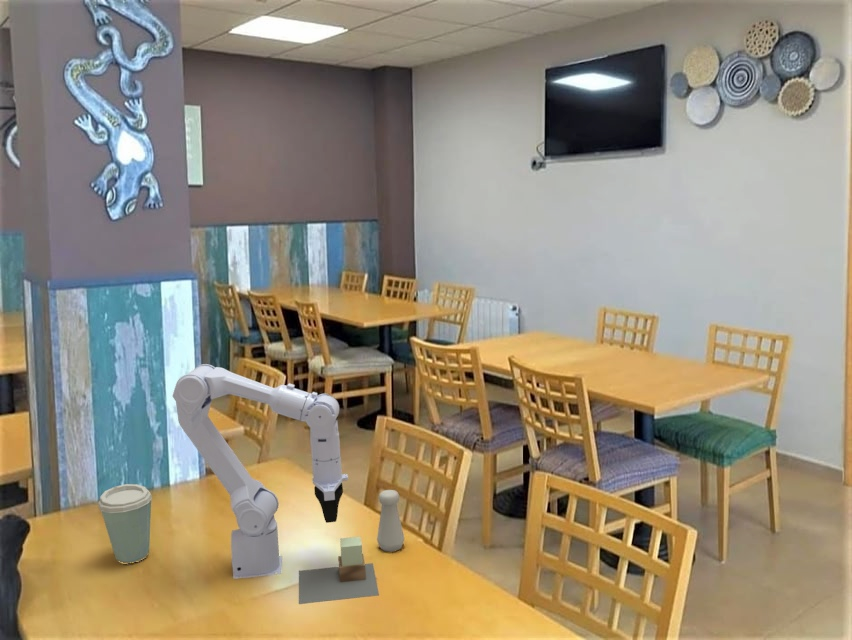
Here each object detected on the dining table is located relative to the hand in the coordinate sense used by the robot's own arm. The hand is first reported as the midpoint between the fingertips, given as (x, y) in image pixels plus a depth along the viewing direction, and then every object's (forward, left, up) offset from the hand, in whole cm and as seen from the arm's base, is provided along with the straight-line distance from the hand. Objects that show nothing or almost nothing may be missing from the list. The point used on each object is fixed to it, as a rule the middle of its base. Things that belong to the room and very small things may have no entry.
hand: (330, 520), depth 156 cm
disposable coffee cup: (-42, +14, -11) cm, 46 cm away
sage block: (+4, -4, -7) cm, 9 cm away
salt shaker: (+13, +6, -11) cm, 17 cm away
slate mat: (+1, -7, -10) cm, 12 cm away
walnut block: (+4, -4, -10) cm, 11 cm away
